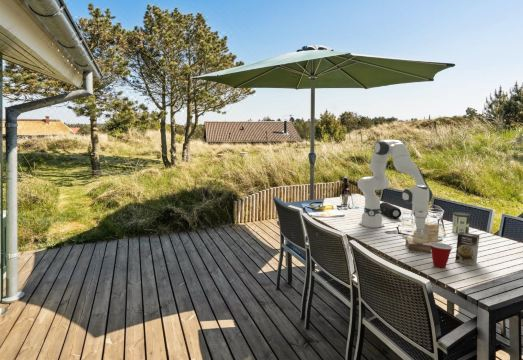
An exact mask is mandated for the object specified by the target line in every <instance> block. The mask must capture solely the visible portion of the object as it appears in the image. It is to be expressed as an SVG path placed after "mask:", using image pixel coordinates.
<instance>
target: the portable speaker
mask: <svg viewBox="0 0 523 360" xmlns="http://www.w3.org/2000/svg"><path fill="white" fill-rule="evenodd" d="M380 213H382V214H384V215H386V216H387V217H389V218H391V219H395V220H396V219H400V217H401V216H402V211H401V209H400V208H399V207H398V206H395V205H393V204H391V203H388V202H386V201H385V202H380Z"/></svg>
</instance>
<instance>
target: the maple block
mask: <svg viewBox="0 0 523 360" xmlns="http://www.w3.org/2000/svg"><path fill="white" fill-rule="evenodd" d="M417 232H418V231H417V230H413V236H412V238H413V241H414V242H416V243H423V230H422V231H421V236H418V235H417Z"/></svg>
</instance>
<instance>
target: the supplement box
mask: <svg viewBox="0 0 523 360" xmlns="http://www.w3.org/2000/svg"><path fill="white" fill-rule="evenodd" d="M439 229H440V223H437V222H427V223H426V222H425V226H424V230H422V231H423V239H427V240H428V242H429V243H432V242H436V243H439V242H438V241H439Z"/></svg>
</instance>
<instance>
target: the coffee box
mask: <svg viewBox="0 0 523 360" xmlns="http://www.w3.org/2000/svg"><path fill="white" fill-rule="evenodd" d="M456 240H457V241H456V249H455V250H456V252H455V262H456V263H461V264H463V265H469V266H472V267H475V266H476V265H477V261H478V250H479V242H480V235H479V234H475V233H470V232H469V233H465V232H459V233H458V234H457V239H456Z"/></svg>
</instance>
